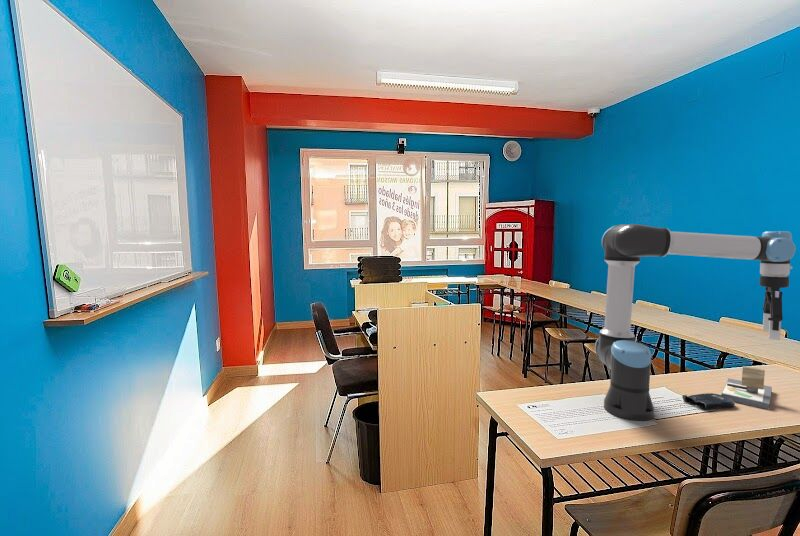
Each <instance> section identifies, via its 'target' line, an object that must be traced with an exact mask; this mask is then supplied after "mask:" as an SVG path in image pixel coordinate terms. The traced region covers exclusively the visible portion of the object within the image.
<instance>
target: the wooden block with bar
mask: <svg viewBox="0 0 800 536" xmlns="http://www.w3.org/2000/svg"><path fill="white" fill-rule="evenodd" d="M765 372H766V369H764V368H757V367H751V366H747V365H743V366H742V374H741V375H742V376H741V381H742V386H738V385H733V384H728V383H727V382H726V383H727V386H731V387H736V388H741V389H746V391H747V392H749V393H754V394H757V393H758V389H762V390H763V388H764V385H765V374H766V373H765ZM743 386H747V387H743Z"/></svg>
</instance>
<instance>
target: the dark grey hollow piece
mask: <svg viewBox="0 0 800 536" xmlns="http://www.w3.org/2000/svg"><path fill="white" fill-rule="evenodd" d="M682 399H683V402H684V403H687V404H689V402H690V403H693V402H695V403H699V404H703V405H704V407H705V408H703V409H704V410H713V409H731V408H734V407H735V403H736V402H734V401H733V400H732V399H731V398H729V397H726V396H723V395H721V394H718V393H710V392H709V393H708V392H707V393H699V394H691V395H689V396H688V395H687V394H684V395H682Z"/></svg>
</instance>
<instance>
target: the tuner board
mask: <svg viewBox="0 0 800 536" xmlns="http://www.w3.org/2000/svg"><path fill="white" fill-rule="evenodd" d="M727 383H728V384H733V385H738V386H742V380H739V379H734V378H729V377H728V378H727V381H726V382H725V385H724V387H723V389H722V392H721V393H720V395H723V396H726V397H729V398H731V399H732V400H733V401H734V403H738V404H743V405H746V406H752V407H756V408H760V409H765V410H770V405H771V397H772V390H773V389H772V388H773V386H770V385H765V384H764V388H763V390H762V389H758V393H757V394H754V393H749V392H747V391H746V389H741V388H736V387H731V386H727ZM743 387H747V386H743Z"/></svg>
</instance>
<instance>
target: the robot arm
mask: <svg viewBox="0 0 800 536" xmlns="http://www.w3.org/2000/svg"><path fill="white" fill-rule="evenodd" d="M601 246H602V248H603V249H602V250H604V262H606V264H607V265H608V266H607V267H608V268H607V279H606V280H607V282H606V299H605V309H604V310H605V312H604V315H605V316H604V326H603V328H602V329H600V330H599V336H598V338H597V339H596V341H595V343H594V352H595V355H596V356H597V358H598V360H599V361H600V362H601V363H602V364H603V365H605V366H606V367H607V368H608V369H609V370H610V385H609V388H608V390H607V392H606V394H605V397H604V400H603V408H604V409H605V410H606V411H607V412H609V414H611V415H614V416H617V417H618V418H619V417H620V418H623V419H627V420H631V421H649V420H653V418H654V417H655V408H654V404H653V401H652V398H651V395H650V379H651V365H652V355H651V354H652V353H651V350H650V349H649V347H648V346H646V345H645V344H644V343H641V342H638V341H635V339H636V336H635V334H634V333H633V332H632V330H631V325H632V324H631V323H632V314H633V313H632V312H633V311H632V310H633V298H634V296H633V295H634V286H635V285H634V283H635V270H636V268H635V267H636V266H637V265H638V264H639V263H640V262H641V257H660V258H664V257H666V256H667V255H676V256H677V255H678V256H691V257H692V256H693V257H706V258H722V259H729V260H730V259H733V260H750V261H751V260H752V261H760V262H759V263H760V264H759V267H760V268H759V274H760V275H759V284H758V285H759V286H760V287H764V289H765V291H764V300H763V307H762V311H763V319H762V332H768V339H769V340H773V341H774V340H775V341H781V329H782V321H783V320H784V319H783V292H782V291H781V290H780V289H782V288H784V289H786V288H789V287H790V277H789V275H790V273H791V272H790V271H791V270H792V269H793V266H792V265H791V260H792V258H793V257H794V255H795V253H796V250H797V248H796V245H795V243H794V242H793V236H792V232H790V231H785V230H784V231H783V230H782V231H780V230H778V231H764V232H762V234H761V236H752V235H736V234H735V235H734V234H717V233H703V232H702V233H700V232H687V231H686V232H685V231H671V230H670V229H669V228H666V227H657V226H650V225H644V224H638V223H630V224H623V223H622V224H617V225H613V226H611V227H610V228H608V229H606V231H605V232H604V233H603V235H602V237H601Z"/></svg>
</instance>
